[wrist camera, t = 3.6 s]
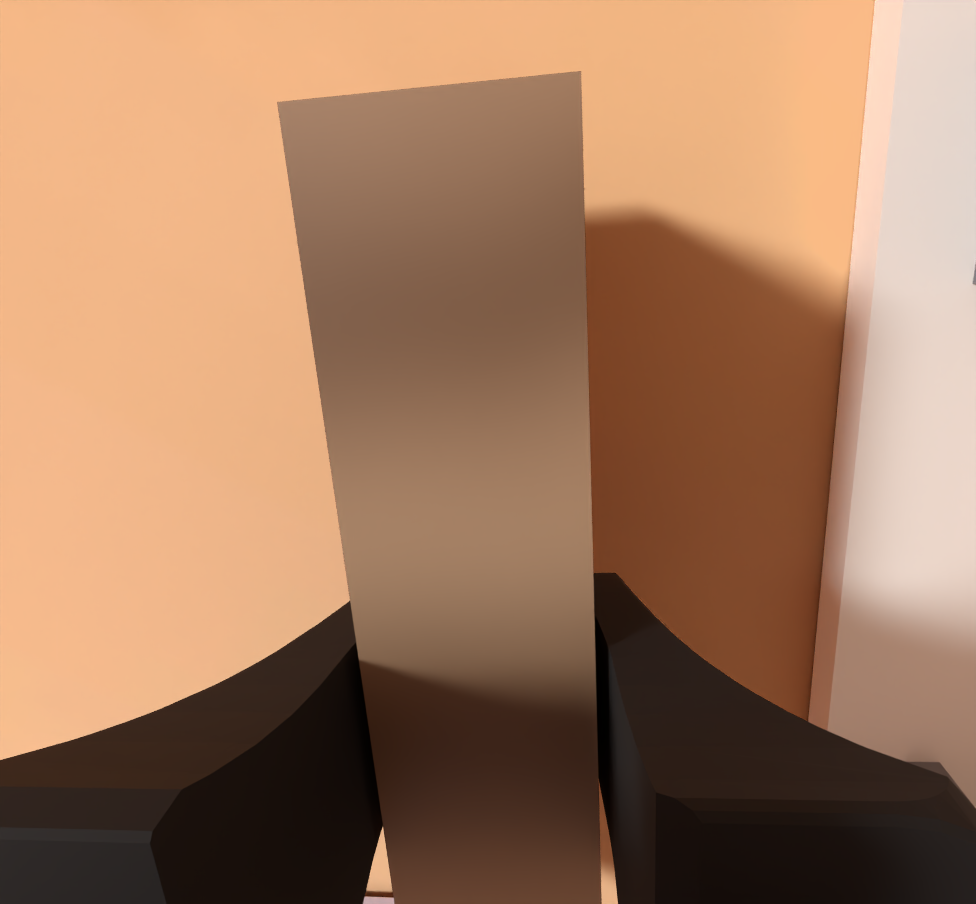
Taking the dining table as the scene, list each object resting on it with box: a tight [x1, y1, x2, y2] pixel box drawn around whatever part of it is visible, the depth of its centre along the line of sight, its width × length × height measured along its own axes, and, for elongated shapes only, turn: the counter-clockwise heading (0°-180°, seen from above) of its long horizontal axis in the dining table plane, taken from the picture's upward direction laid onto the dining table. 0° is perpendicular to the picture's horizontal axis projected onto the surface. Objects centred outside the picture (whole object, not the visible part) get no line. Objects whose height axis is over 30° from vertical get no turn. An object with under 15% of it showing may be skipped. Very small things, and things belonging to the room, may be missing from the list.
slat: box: [277, 71, 601, 904], centre depth 11 cm, size 16×3×5 cm, turn 4°
